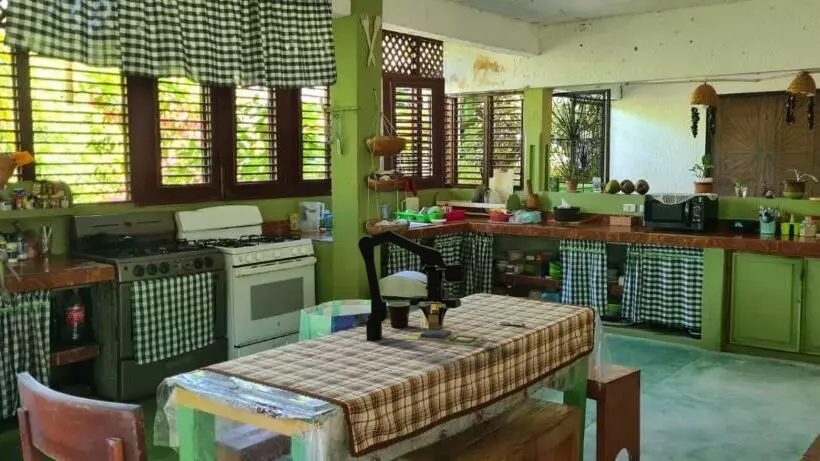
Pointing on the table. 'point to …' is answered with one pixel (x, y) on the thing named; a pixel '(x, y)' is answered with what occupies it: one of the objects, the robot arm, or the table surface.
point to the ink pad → (436, 335)
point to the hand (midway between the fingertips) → (435, 324)
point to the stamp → (434, 321)
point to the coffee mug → (399, 314)
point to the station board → (452, 340)
